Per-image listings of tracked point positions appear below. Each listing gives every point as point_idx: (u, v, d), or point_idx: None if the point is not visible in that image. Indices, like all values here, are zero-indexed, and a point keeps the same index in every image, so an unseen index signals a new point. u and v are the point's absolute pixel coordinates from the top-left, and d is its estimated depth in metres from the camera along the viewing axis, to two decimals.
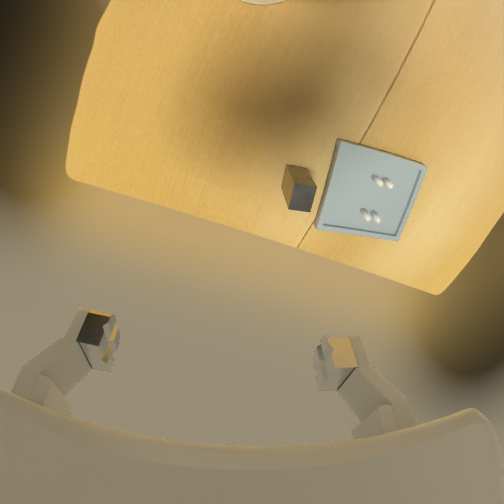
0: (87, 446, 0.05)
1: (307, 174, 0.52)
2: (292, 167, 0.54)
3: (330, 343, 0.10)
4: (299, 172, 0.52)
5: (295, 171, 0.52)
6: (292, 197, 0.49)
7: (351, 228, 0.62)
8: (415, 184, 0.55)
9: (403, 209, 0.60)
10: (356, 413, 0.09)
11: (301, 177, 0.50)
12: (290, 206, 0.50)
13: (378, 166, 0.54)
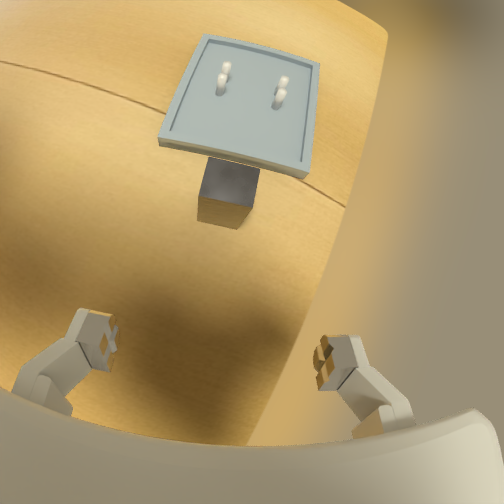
0: (87, 446, 0.05)
1: None
2: None
3: (330, 343, 0.10)
4: None
5: None
6: (227, 199, 0.26)
7: (305, 121, 0.38)
8: (230, 44, 0.37)
9: (270, 57, 0.39)
10: (356, 413, 0.09)
11: None
12: (246, 203, 0.26)
13: (203, 88, 0.36)
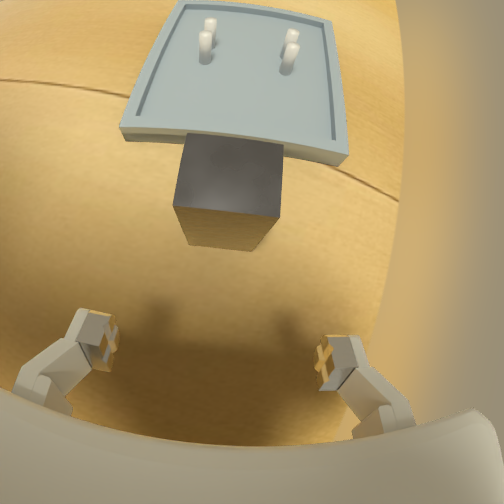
0: (87, 446, 0.05)
1: None
2: None
3: (330, 343, 0.10)
4: None
5: None
6: (230, 207, 0.13)
7: (329, 87, 0.25)
8: (214, 7, 0.25)
9: (268, 17, 0.27)
10: (356, 413, 0.09)
11: None
12: (267, 211, 0.13)
13: (183, 57, 0.24)
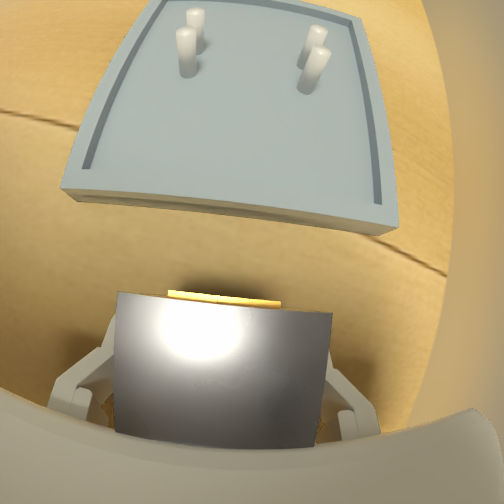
0: (87, 446, 0.05)
1: None
2: None
3: None
4: None
5: None
6: None
7: (368, 114, 0.17)
8: None
9: (278, 10, 0.19)
10: (321, 416, 0.09)
11: None
12: None
13: (157, 68, 0.16)
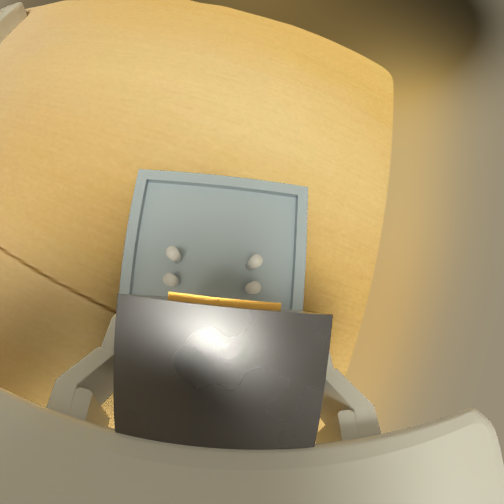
0: (87, 446, 0.05)
1: None
2: None
3: None
4: None
5: None
6: None
7: (291, 303, 0.31)
8: (178, 183, 0.31)
9: (237, 192, 0.33)
10: (321, 416, 0.09)
11: None
12: None
13: (153, 275, 0.30)
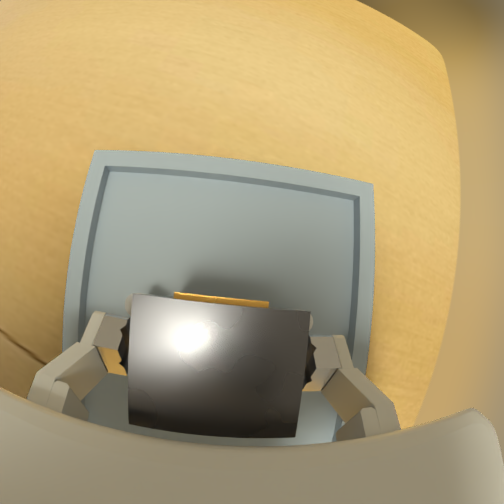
0: (87, 446, 0.05)
1: None
2: None
3: (313, 343, 0.10)
4: None
5: None
6: (217, 431, 0.07)
7: None
8: (157, 171, 0.18)
9: (259, 189, 0.19)
10: (340, 415, 0.09)
11: None
12: (277, 431, 0.07)
13: None
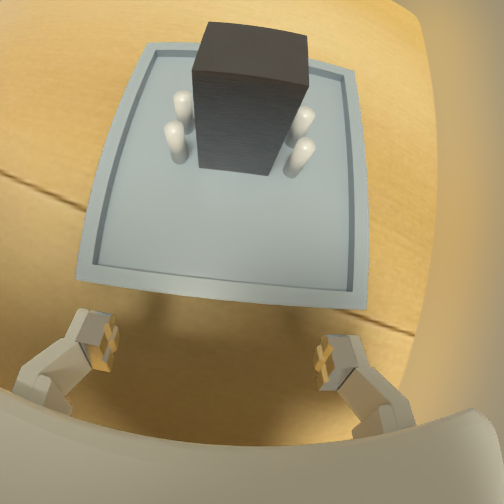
0: (87, 446, 0.05)
1: None
2: None
3: (330, 343, 0.10)
4: None
5: None
6: (255, 72, 0.10)
7: (351, 195, 0.20)
8: (195, 54, 0.21)
9: None
10: (356, 413, 0.09)
11: None
12: (296, 79, 0.10)
13: (150, 150, 0.19)
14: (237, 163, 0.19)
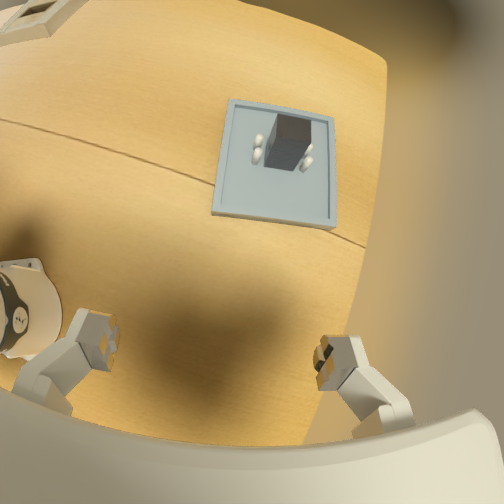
0: (87, 446, 0.05)
1: (269, 136, 0.43)
2: (265, 157, 0.45)
3: (330, 343, 0.10)
4: (268, 145, 0.43)
5: (268, 150, 0.43)
6: (295, 138, 0.37)
7: (328, 179, 0.47)
8: (255, 108, 0.48)
9: None
10: (356, 413, 0.09)
11: (271, 137, 0.40)
12: (307, 140, 0.37)
13: (240, 157, 0.46)
14: (281, 165, 0.45)
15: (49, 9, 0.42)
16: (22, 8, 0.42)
